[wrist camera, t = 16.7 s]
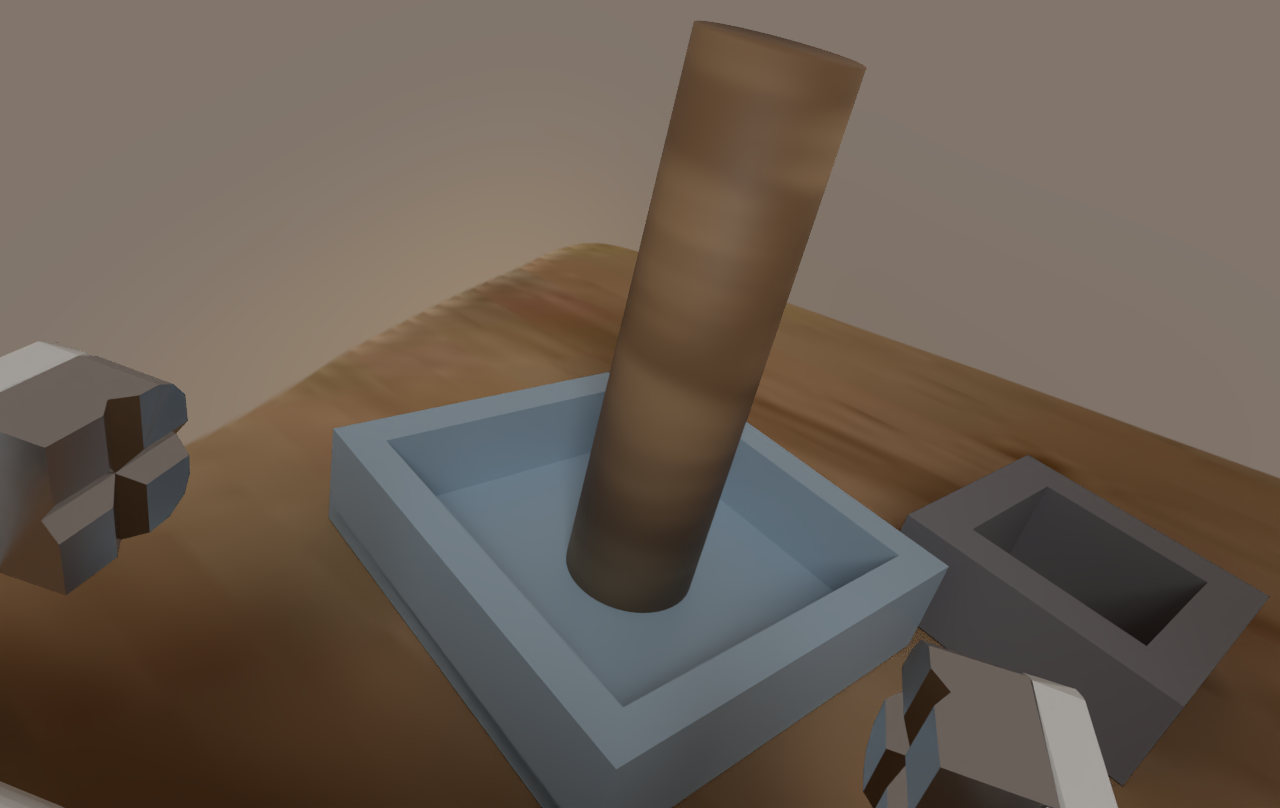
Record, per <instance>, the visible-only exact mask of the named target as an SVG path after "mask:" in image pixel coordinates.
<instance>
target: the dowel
mask: <svg viewBox="0 0 1280 808" xmlns="http://www.w3.org/2000/svg"><path fill="white" fill-rule="evenodd" d="M865 70H866V67H865V66H863V65H862V64H860V63H858V62H856V61H853V60H851V59H848V58H845V57H843V56H840V55H837V54H834V53H831V52H828V51H825V50H822V49H818V48H815V47H812V46H809V45H805V44H802V43H798V42H795V41H791V40H788V39H784V38H780V37H777V36H773V35H769V34H765V33H761V32H757V31H752V30H748V29H744V28H739V27H735V26H730V25H725V24H720V23H714V22H707V21H694V24H693V28H692V32H691V36H690V40H689V44H688V49H687V53H686V57H685V61H684V65H683V70H682V74H681V78H680V82H679V86H678V90H677V95H676V99H675V103H674V107H673V111H672V116H671V120H670V124H669V128H668V132H667V137H666V140H665V145H664V149H663V153H662V157H661V161H660V166H659V170H658V174H657V178H656V183H655V187H654V190H653V195H652V199H651V203H650V207H649V211H648V216H647V220H646V224H645V228H644V232H643V236H642V241H641V245H640V249H639V253H638V257H637V261H636V266H635V270H634V274H633V278H632V282H631V286H630V291H629V295H628V299H627V303H626V307H625V311H624V316H623V320H622V324H621V328H620V332H619V336H618V341H617V345H616V349H615V353H614V357H613V361H612V366H611V370H610V374H609V378H608V382H607V386H606V391H605V395H604V399H603V403H602V407H601V412H600V416H599V420H598V424H597V428H596V432H595V437H594V441H593V445H592V449H591V453H590V457H589V462H588V466H587V470H586V474H585V478H584V482H583V487H582V491H581V495H580V499H579V503H578V507H577V512H576V516H575V520H574V524H573V528H572V533H571V537H570V541H569V545H568V549H567V554H566V564H567V568H568V571H569V573H570V575H571V577H572V578H573V580H574V581H575V583H576V584H577V585H578V586H579V587H580V588H581V589H582V590H583V591H584V592H585V593H587V594H588V595H589V596H591V597H592V598H594V599H595V600H597V601H599V602H601V603H603V604H605V605H607V606H610V607H613V608H615V609H619V610H623V611H628V612H635V613H652V612H659V611H663V610H666V609H669V608H671V607H673V606H675V605H677V604H678V603H679V602H680V601H682V600H683V599H684V597H685V596H686V595H687V593H688V591H689V588H690V585H691V583H692V580H693V577H694V574H695V571H696V568H697V565H698V562H699V559H700V556H701V553H702V550H703V547H704V544H705V541H706V538H707V535H708V532H709V530H710V527H711V524H712V521H713V518H714V515H715V512H716V509H717V506H718V503H719V500H720V497H721V494H722V491H723V488H724V485H725V482H726V480H727V477H728V474H729V471H730V468H731V465H732V462H733V459H734V456H735V453H736V450H737V447H738V444H739V441H740V438H741V435H742V432H743V429H744V427H745V424H746V421H747V418H748V415H749V412H750V409H751V406H752V403H753V400H754V397H755V394H756V391H757V388H758V385H759V382H760V379H761V376H762V374H763V371H764V368H765V365H766V362H767V359H768V356H769V353H770V350H771V347H772V344H773V341H774V338H775V335H776V332H777V329H778V326H779V324H780V321H781V318H782V315H783V312H784V309H785V306H786V303H787V300H788V297H789V294H790V291H791V288H792V285H793V282H794V279H795V276H796V273H797V271H798V267H799V265H800V262H801V259H802V256H803V253H804V250H805V247H806V244H807V241H808V238H809V235H810V232H811V229H812V226H813V223H814V220H815V218H816V215H817V212H818V209H819V206H820V202H821V200H822V197H823V194H824V191H825V188H826V185H827V182H828V179H829V176H830V173H831V170H832V167H833V164H834V162H835V158H836V156H837V153H838V150H839V147H840V144H841V141H842V138H843V135H844V132H845V129H846V126H847V123H848V120H849V117H850V114H851V111H852V109H853V106H854V103H855V100H856V97H857V94H858V91H859V88H860V85H861V82H862V79H863V76H864V73H865Z"/></svg>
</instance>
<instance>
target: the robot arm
mask: <svg viewBox="0 0 1280 808" xmlns="http://www.w3.org/2000/svg"><path fill="white" fill-rule="evenodd" d="M187 421H188V419H187V408H186V398H185V394H184V393H183V392H182V391H181V390H179V389H178V388H177V387H176V386H175V385H174V384H172V383H169V382H166V381H163V380H160V379H158V378H155V377H153V376H150V375H147V374H144V373H142V372H139V371H136V370H133V369H131V368H128V367H125V366H123V365H120V364H117V363H114V362H112V361H109V360H106V359H103V358H101V357H98V356H92V355H90V354H88V353H86V352H83V351H80V350H77V349H75V348H72V347H69V346H66V345H63V344H60V343H58V342H42V341H38V342H36V343H33V344H31V345H28V346H26V347H24V348H21V349H19V350H17V351H14V352H12V353H9V354H7V355H5V356H2V357H0V573H2V574H5V575H8V576H11V577H14V578H17V579H20V580H23V581H25V582H28V583H31V584H34V585H37V586H40V587H43V588H46V589H49V590H52V591H55V592H58V593H60V594H63V595H67V594H69V593H70V592H71V591H73V590H74V589H75V588H77V587H78V586H79V585H81V584H82V583H83V582H85V581H86V580H87V579H89V578H90V577H91V576H93V575H94V574H95V573H97V572H98V571H99V570H101V569H102V568H103V567H105V566H106V565H107V564H109V563H110V562H111V561H113V560H114V559H115V558H116V557H118V552H119V547H120V542H121V540H122V539H126V538H130V537H133V536H137V535H141V534H145V533H149V532H151V531H152V530H153V529H154V528H156V527H157V526H158V525H159V524H161V523H162V522H163V521H164V520H166V519H167V518H168V517H169V516H170V515H171V513H172V512H173V510H174V509H175V507H176V506H177V504H178V503H179V501H180V500H181V498H182V497H183V495H184V494H185V490H186V486H187V482H188V478H189V474H190V468H189V454H188V452H187V451H186V449H185V447H184V446H183V444H182V442H181V441H180V439H179V438H178V436H177V434H176V433H177V432H178V431H179V430H180V429H181V427H182V426H183V425H184V424H185V423H186V422H187ZM902 686H903V691H902V692H900V693H898V694H896V695H893V696H891V697H889V698H886V699H885V701H884V703H883V705H882V707H881V709H880V711H879V714H878V716H877V718H876V720H875V722H874V725H873V728H872V732H871V735H870V738H869V742H868V745H867V748H866V756H865V763H864V774H863V792H864V794H865V796H866V797H867V799H868V800H869V802H870V804H871V805H872V807H873V808H1118V805H1117V802H1116V799H1115V796H1114V792H1113V789H1112V786H1111V783H1110V780H1109V776H1108V773H1107V770H1106V767H1105V763H1104V760H1103V757H1102V754H1101V750H1100V747H1099V744H1098V741H1097V738H1096V734H1095V731H1094V728H1093V725H1092V721H1091V718H1090V715H1089V712H1088V708H1087V705H1086V702H1085V699H1084V698H1083V696H1082V695H1081V694H1080V693H1079V692H1078V691H1077V690H1076V689H1074V688H1071V687H1068V686H1064V685H1061V684H1058V683H1055V682H1052V681H1048V680H1045V679H1042V678H1039V677H1036V676H1032V675H1029V674H1026V673H1022V674H1020V673H1017V672H1015V671H1012V670H1009V669H1006V668H1003V667H1000V666H997V665H994V664H991V663H988V662H985V661H982V660H979V659H976V658H973V657H970V656H967V655H964V654H961V653H958V652H955V651H952V650H949V649H946V648H943V647H940V646H937V645H934V644H931V643H928V642H925V641H922V640H920V641H919V642H918V644H917V645H916V646H915V647H914V648H913V649H912V650H911V652H910V654H909V656H908V658H907V659H906V661H905V663H904V665H903V667H902ZM0 808H64V807H62V806H59V805H57V804H55V803H52V802H50V801H47V800H45V799H42V798H40V797H37V796H35V795H32V794H30V793H28V792H25V791H23V790H20V789H18V788H15V787H13V786H10V785H8V784H5V783H3V782H1V781H0Z"/></svg>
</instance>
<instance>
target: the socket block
mask: <svg viewBox="0 0 1280 808" xmlns="http://www.w3.org/2000/svg"><path fill="white" fill-rule="evenodd" d="M900 532H901V533H903V534H904V535H906V536H907V537H908V538H910V539H911V540H913V541H914V542H915V543H917V544H918V545H920V546H921V547H922V548H924V549H925V550H927V551H928V552H929V553H931V554H932V555H934V556H935V557H936V558H938V559H939V560H941V561H942V562H943V563H945V564H946V565H948V566H949V567H948V569H947V571H946V573H945V575H944V577H943V579H942V581H941V583H940V585H939V587H938V589H937V591H936V593H935V594H934V596H933V598H932V600H931V602H930V604H929V606H928V608H927V610H926V612H925V614H924V616H923V618H922V620H921V622H920V623H919V625H918V626H919V627H920V628H921V629H922V630H924V631H925V632H926V633H928V634H929V635H930V636H931V637H933V638H934V639H935V640H937V641H938V642H939V643H940V644H942V645H943V646H944V647H945V648H947V649H949V650H952V651H955V652H958V653H961V654H964V655H967V656H970V657H973V658H976V659H979V660H982V661H985V662H988V663H991V664H994V665H997V666H1000V667H1003V668H1006V669H1009V670H1012V671H1015V672H1017V673H1020V674H1022V673H1026V674H1029V675H1032V676H1036V677H1039V678H1042V679H1045V680H1048V681H1052V682H1055V683H1058V684H1061V685H1064V686H1068V687H1071V688H1074V689H1076V690H1077V691H1078V692H1079V693H1080V694H1081V695H1082V696H1083V698H1084V699H1085V702H1086V705H1087V708H1088V712H1089V715H1090V718H1091V721H1092V725H1093V728H1094V731H1095V734H1096V738H1097V741H1098V744H1099V747H1100V750H1101V754H1102V757H1103V760H1104V763H1105V767H1106V770H1107V773H1108V775H1109V776H1110V777H1112V778H1113V779H1114V780H1116V781H1117V782H1118V783H1119V784H1121V785H1122V786H1123V785H1124V784H1125V782H1126V781H1127V780H1128V778H1129V777H1130V776H1131V775H1132V773H1133V772H1134V771H1135V769H1136V768H1137V767H1138V766H1139V764H1140V763H1141V762H1142V760H1143V759H1144V758H1145V757H1146V755H1147V754H1148V753H1149V751H1150V750H1151V749H1152V748H1153V746H1154V745H1155V744H1156V742H1157V741H1158V740H1159V739H1160V737H1161V736H1162V735H1163V733H1164V732H1165V731H1166V730H1167V728H1168V727H1169V726H1170V724H1171V723H1172V722H1173V721H1174V719H1175V718H1176V717H1177V715H1178V714H1179V713H1180V712H1181V710H1182V709H1183V708H1184V706H1185V705H1186V704H1187V703H1188V701H1189V700H1190V699H1191V697H1192V696H1193V695H1194V694H1195V692H1196V691H1197V690H1198V688H1199V687H1200V686H1201V685H1202V683H1203V682H1204V681H1205V679H1206V678H1207V677H1208V676H1209V674H1210V673H1211V672H1212V670H1213V669H1214V668H1215V667H1216V665H1217V664H1218V663H1219V661H1220V660H1221V659H1222V658H1223V656H1224V655H1225V654H1226V652H1227V651H1228V650H1229V649H1230V647H1231V646H1232V645H1233V643H1234V642H1235V641H1236V640H1237V638H1238V637H1239V636H1240V634H1241V633H1242V632H1243V631H1244V629H1245V628H1246V627H1247V625H1248V624H1249V623H1250V622H1251V620H1252V619H1253V618H1254V616H1255V615H1256V614H1257V613H1258V611H1259V610H1260V609H1261V607H1262V606H1263V605H1264V603H1265V602H1266V601H1267V600H1268V598H1269V597H1270V596H1268V595H1266V594H1265V593H1263V592H1261V591H1260V590H1258V589H1256V588H1254V587H1253V586H1251V585H1249V584H1248V583H1246V582H1244V581H1242V580H1241V579H1239V578H1237V577H1236V576H1234V575H1232V574H1230V573H1229V572H1227V571H1225V570H1224V569H1222V568H1220V567H1219V566H1217V565H1215V564H1213V563H1212V562H1210V561H1208V560H1207V559H1205V558H1203V557H1201V556H1200V555H1198V554H1196V553H1195V552H1193V551H1191V550H1190V549H1188V548H1186V547H1184V546H1183V545H1181V544H1179V543H1178V542H1176V541H1174V540H1172V539H1171V538H1169V537H1167V536H1166V535H1164V534H1162V533H1160V532H1159V531H1157V530H1155V529H1154V528H1152V527H1150V526H1149V525H1147V524H1145V523H1143V522H1142V521H1140V520H1138V519H1137V518H1135V517H1133V516H1131V515H1130V514H1128V513H1126V512H1125V511H1123V510H1121V509H1120V508H1118V507H1116V506H1114V505H1113V504H1111V503H1109V502H1108V501H1106V500H1104V499H1102V498H1101V497H1099V496H1097V495H1096V494H1094V493H1092V492H1090V491H1089V490H1087V489H1085V488H1084V487H1082V486H1080V485H1079V484H1077V483H1075V482H1073V481H1072V480H1070V479H1068V478H1067V477H1065V476H1063V475H1061V474H1060V473H1058V472H1056V471H1055V470H1053V469H1051V468H1050V467H1048V466H1046V465H1044V464H1043V463H1041V462H1039V461H1038V460H1036V459H1034V458H1032V457H1031V456H1029V455H1027V456H1025V457H1023V458H1021V459H1019V460H1017V461H1015V462H1013V463H1011V464H1009V465H1007V466H1005V467H1003V468H1001V469H999V470H997V471H995V472H993V473H991V474H989V475H987V476H985V477H983V478H981V479H979V480H977V481H975V482H973V483H971V484H969V485H967V486H965V487H963V488H961V489H959V490H957V491H955V492H953V493H951V494H949V495H947V496H945V497H943V498H941V499H939V500H937V501H935V502H933V503H931V504H929V505H927V506H925V507H923V508H921V509H919V510H917V511H915V512H913V513H911V514H909V515H908V516H907V518H906V520H905V522H904V524H903V527H902V529H901V531H900Z"/></svg>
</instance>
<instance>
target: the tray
mask: <svg viewBox="0 0 1280 808" xmlns="http://www.w3.org/2000/svg"><path fill="white" fill-rule="evenodd" d="M609 374H610V372H606V373H602V374H597V375H592V376H587V377H582V378H577V379H572V380H568V381H563V382H558V383H553V384H548V385H543V386H538V387H534V388H529V389H524V390H519V391H514V392H509V393H504V394H500V395H495V396H490V397H485V398H480V399H475V400H470V401H466V402H461V403H456V404H451V405H446V406H441V407H436V408H432V409H427V410H422V411H417V412H412V413H407V414H402V415H398V416H393V417H388V418H383V419H378V420H373V421H368V422H364V423H359V424H354V425H349V426H344V427H339V428H334V429H333V444H332V464H331V484H330V504H329V519H330V520H331V521H332V523H333V524H334V526H335V527H336V528H337V530H338V531H339V532H340V534H341V535H342V536H343V538H344V539H345V540H346V542H347V543H348V545H349V546H350V547H351V549H352V550H353V551H354V553H355V554H356V555H357V557H358V558H359V560H360V561H361V562H362V564H363V565H364V566H365V568H366V569H367V570H368V572H369V573H370V574H371V576H372V577H373V579H374V580H375V581H376V583H377V584H378V585H379V587H380V588H381V589H382V591H383V592H384V593H385V595H386V596H387V598H388V599H389V600H390V602H391V603H392V604H393V606H394V607H395V608H396V610H397V611H398V612H399V614H400V615H401V617H402V618H403V619H404V621H405V622H406V623H407V625H408V626H409V627H410V629H411V630H412V632H413V633H414V634H415V636H416V637H417V638H418V640H419V641H420V642H421V644H422V645H423V646H424V648H425V649H426V651H427V652H428V653H429V655H430V656H431V657H432V659H433V660H434V661H435V663H436V664H437V665H438V667H439V668H440V670H441V671H442V672H443V674H444V675H445V676H446V678H447V679H448V680H449V682H450V683H451V684H452V686H453V687H454V689H455V690H456V691H457V693H458V694H459V695H460V697H461V698H462V699H463V701H464V702H465V704H466V705H467V706H468V708H469V709H470V710H471V712H472V713H473V714H474V716H475V717H476V718H477V720H478V721H479V723H480V724H481V725H482V727H483V728H484V729H485V731H486V732H487V733H488V735H489V736H490V737H491V739H492V740H493V742H494V743H495V744H496V746H497V747H498V748H499V750H500V751H501V752H502V754H503V755H504V756H505V758H506V759H507V761H508V762H509V763H510V765H511V766H512V767H513V769H514V770H515V771H516V773H517V774H518V776H519V777H520V778H521V780H522V781H523V782H524V784H525V785H526V786H527V788H528V789H529V790H530V792H531V793H532V795H533V796H534V797H535V799H536V800H537V801H538V803H539V804H540V805H541V807H542V808H672V807H673V806H674V805H676V804H677V803H679V802H680V801H682V800H683V799H685V798H686V797H688V796H689V795H691V794H692V793H693V792H695V791H696V790H698V789H699V788H701V787H702V786H704V785H705V784H707V783H708V782H709V781H711V780H712V779H714V778H715V777H717V776H718V775H720V774H721V773H723V772H724V771H725V770H727V769H728V768H730V767H731V766H733V765H734V764H736V763H737V762H739V761H740V760H741V759H743V758H744V757H746V756H747V755H749V754H750V753H752V752H753V751H755V750H756V749H757V748H759V747H760V746H762V745H763V744H765V743H766V742H768V741H769V740H771V739H772V738H774V737H775V736H776V735H778V734H779V733H781V732H782V731H784V730H785V729H787V728H788V727H790V726H791V725H792V724H794V723H795V722H797V721H798V720H800V719H801V718H803V717H804V716H806V715H807V714H808V713H810V712H811V711H813V710H814V709H816V708H817V707H819V706H820V705H822V704H823V703H824V702H826V701H827V700H829V699H830V698H832V697H833V696H835V695H836V694H838V693H839V692H840V691H842V690H843V689H845V688H846V687H848V686H849V685H851V684H852V683H854V682H855V681H857V680H858V679H859V678H861V677H862V676H864V675H865V674H867V673H868V672H870V671H871V670H873V669H874V668H875V667H877V666H878V665H880V664H881V663H883V662H884V661H886V660H887V659H889V658H890V657H891V656H893V655H894V654H896V653H897V652H899V651H900V650H902V649H903V648H905V647H906V646H907V645H909V643H910V641H911V639H912V637H913V635H914V633H915V631H916V629H917V627H918V625H919V623H920V622H921V620H922V618H923V616H924V614H925V612H926V610H927V608H928V606H929V604H930V602H931V600H932V598H933V596H934V594H935V593H936V591H937V589H938V587H939V585H940V583H941V581H942V579H943V577H944V575H945V573H946V571H947V569H948V567H949V566H948V565H946V564H945V563H943V562H942V561H941V560H939V559H938V558H936V557H935V556H934V555H932V554H931V553H929V552H928V551H927V550H925V549H924V548H922V547H921V546H920V545H918V544H917V543H915V542H914V541H913V540H911V539H910V538H908V537H907V536H906V535H904V534H903V533H901V532H900V531H899V530H897V529H896V528H894V527H893V526H892V525H890V524H889V523H887V522H886V521H885V520H883V519H882V518H880V517H879V516H878V515H876V514H875V513H873V512H872V511H871V510H869V509H868V508H866V507H865V506H863V505H862V504H861V503H859V502H858V501H856V500H855V499H854V498H852V497H851V496H849V495H848V494H847V493H845V492H844V491H842V490H841V489H840V488H838V487H837V486H835V485H834V484H833V483H831V482H830V481H828V480H827V479H826V478H824V477H823V476H821V475H820V474H819V473H817V472H816V471H814V470H813V469H812V468H810V467H809V466H807V465H806V464H805V463H803V462H802V461H800V460H799V459H798V458H796V457H795V456H793V455H792V454H791V453H789V452H788V451H786V450H785V449H784V448H782V447H781V446H779V445H778V444H777V443H775V442H774V441H772V440H771V439H770V438H768V437H767V436H765V435H764V434H763V433H761V432H760V431H758V430H757V429H756V428H754V427H753V426H751V425H750V424H749V423H747V422H746V424H745V427H744V429H743V432H742V435H741V438H740V441H739V444H738V447H737V450H736V453H735V456H734V459H733V462H732V465H731V468H730V471H729V474H728V477H727V480H726V482H725V485H724V488H723V491H722V494H721V497H720V500H719V503H718V506H717V509H716V512H715V515H714V518H713V521H712V524H711V527H710V530H709V532H708V535H707V538H706V541H705V544H704V547H703V550H702V553H701V556H700V559H699V562H698V565H697V568H696V571H695V574H694V577H693V580H692V583H691V585H690V588H689V591H688V593H687V595H686V596H685V597H684V599H683V600H682V601H680V602H679V603H678V604H677V605H675V606H673V607H671V608H669V609H666V610H663V611H659V612H652V613H635V612H628V611H623V610H619V609H615V608H613V607H610V606H607V605H605V604H603V603H601V602H599V601H597V600H595V599H594V598H592V597H591V596H589V595H588V594H587V593H585V592H584V591H583V590H582V589H581V588H580V587H579V586H578V585H577V584H576V583H575V581H574V580H573V578H572V577H571V575H570V573H569V571H568V568H567V564H566V554H567V549H568V545H569V541H570V537H571V533H572V528H573V524H574V520H575V516H576V512H577V507H578V503H579V499H580V495H581V491H582V487H583V482H584V478H585V474H586V470H587V466H588V462H589V457H590V453H591V449H592V445H593V441H594V437H595V432H596V428H597V424H598V420H599V416H600V412H601V407H602V403H603V399H604V395H605V391H606V386H607V382H608V378H609Z"/></svg>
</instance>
